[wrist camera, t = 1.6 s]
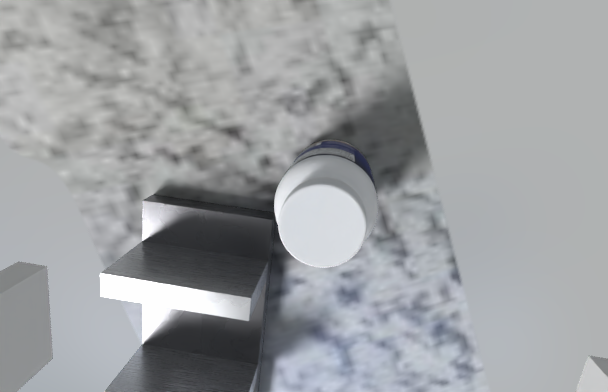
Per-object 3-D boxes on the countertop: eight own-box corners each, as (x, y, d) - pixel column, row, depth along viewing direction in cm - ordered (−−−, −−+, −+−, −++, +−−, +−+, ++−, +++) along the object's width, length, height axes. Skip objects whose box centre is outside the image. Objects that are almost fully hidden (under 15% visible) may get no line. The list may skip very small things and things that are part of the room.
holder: (152, 194, 29) (98, 225, 23) (276, 212, 28) (255, 249, 22) (151, 379, 33) (105, 446, 27) (257, 398, 33) (235, 472, 27)
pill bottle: (368, 219, 28) (377, 288, 18) (290, 213, 28) (261, 278, 19) (375, 140, 26) (388, 172, 17) (293, 136, 27) (262, 164, 17)
